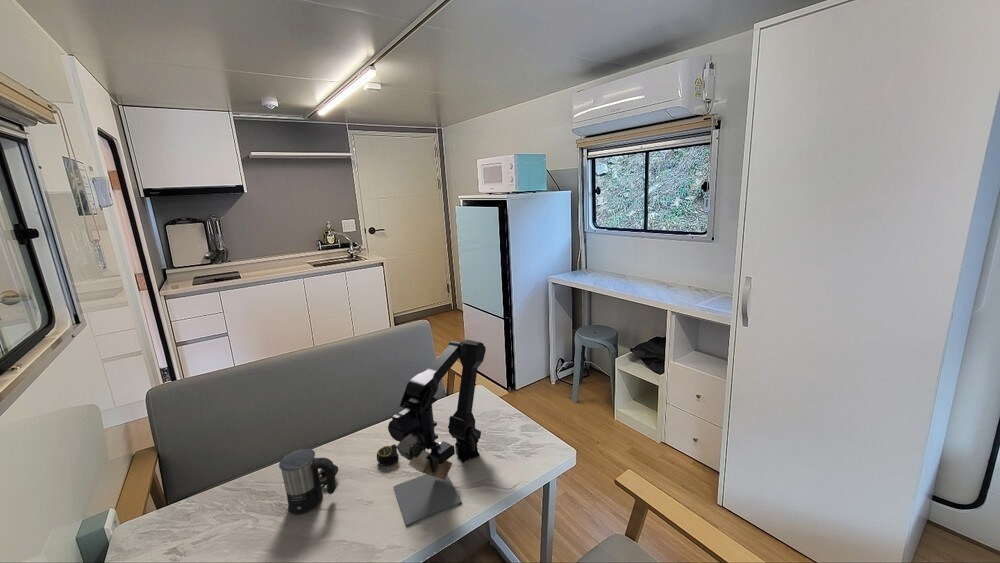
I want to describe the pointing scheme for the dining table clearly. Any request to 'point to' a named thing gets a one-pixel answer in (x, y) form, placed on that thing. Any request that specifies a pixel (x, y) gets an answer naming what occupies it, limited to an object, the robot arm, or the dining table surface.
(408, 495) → the charcoal mat
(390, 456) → the tape measure
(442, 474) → the wooden block
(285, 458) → the milk frother
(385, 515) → the dining table surface
